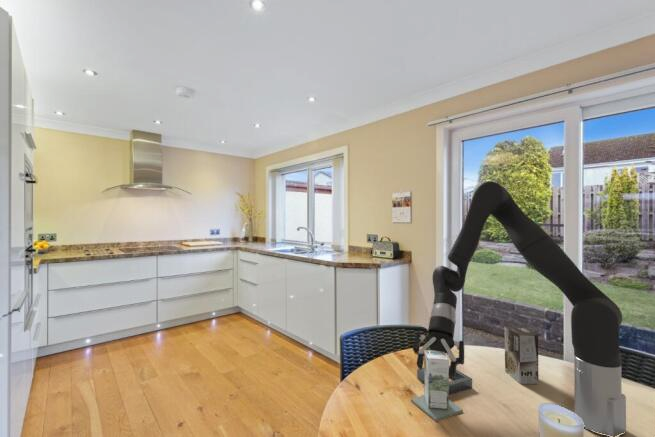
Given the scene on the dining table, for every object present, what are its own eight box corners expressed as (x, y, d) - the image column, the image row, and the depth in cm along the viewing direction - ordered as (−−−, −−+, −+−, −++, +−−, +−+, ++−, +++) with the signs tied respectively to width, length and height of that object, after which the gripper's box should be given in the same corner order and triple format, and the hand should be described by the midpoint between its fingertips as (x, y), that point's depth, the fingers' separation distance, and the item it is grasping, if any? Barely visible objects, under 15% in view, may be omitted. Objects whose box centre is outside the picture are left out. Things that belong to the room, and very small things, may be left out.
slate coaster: (462, 411, 84) (462, 409, 84) (435, 421, 80) (435, 419, 80) (436, 393, 93) (436, 391, 93) (410, 400, 89) (410, 398, 89)
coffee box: (539, 384, 98) (539, 335, 98) (519, 384, 98) (519, 335, 98) (522, 370, 107) (521, 325, 107) (504, 370, 107) (503, 325, 108)
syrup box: (443, 398, 89) (443, 349, 90) (449, 410, 84) (449, 358, 84) (424, 396, 90) (424, 348, 90) (428, 409, 84) (428, 357, 84)
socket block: (472, 388, 96) (472, 378, 96) (443, 396, 91) (443, 387, 91) (443, 370, 107) (443, 362, 107) (417, 378, 102) (417, 369, 102)
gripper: (417, 311, 97) (407, 361, 87) (465, 318, 90) (460, 373, 80) (421, 323, 102) (412, 371, 92) (467, 330, 94) (463, 384, 84)
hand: (435, 372), depth 86 cm, fingers open, 8 cm apart
